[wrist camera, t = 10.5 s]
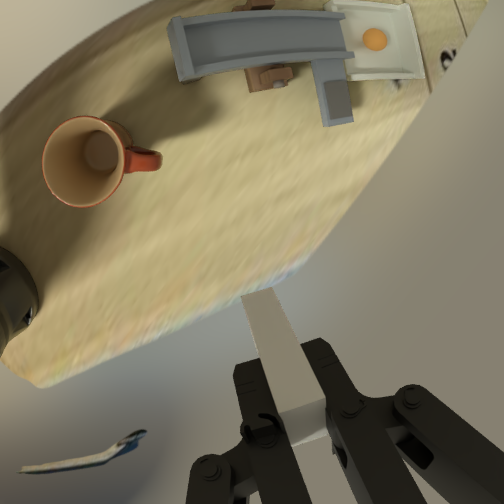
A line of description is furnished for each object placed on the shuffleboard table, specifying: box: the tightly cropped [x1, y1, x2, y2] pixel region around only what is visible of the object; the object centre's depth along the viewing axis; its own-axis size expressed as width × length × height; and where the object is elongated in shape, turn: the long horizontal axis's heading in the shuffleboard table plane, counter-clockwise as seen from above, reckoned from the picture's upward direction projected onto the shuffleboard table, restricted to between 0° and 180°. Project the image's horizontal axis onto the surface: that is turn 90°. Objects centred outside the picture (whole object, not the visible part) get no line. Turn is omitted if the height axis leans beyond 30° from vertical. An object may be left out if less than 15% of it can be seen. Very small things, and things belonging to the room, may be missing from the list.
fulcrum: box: [182, 0, 293, 93], centre depth 28 cm, size 12×11×8 cm
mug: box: [42, 116, 163, 208], centre depth 29 cm, size 12×9×10 cm
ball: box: [363, 28, 387, 51], centre depth 31 cm, size 3×3×3 cm
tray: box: [323, 0, 425, 82], centre depth 31 cm, size 12×12×4 cm
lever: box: [167, 10, 355, 127], centre depth 27 cm, size 20×14×3 cm
